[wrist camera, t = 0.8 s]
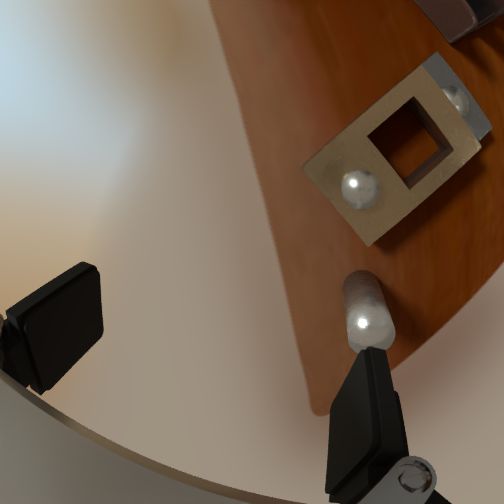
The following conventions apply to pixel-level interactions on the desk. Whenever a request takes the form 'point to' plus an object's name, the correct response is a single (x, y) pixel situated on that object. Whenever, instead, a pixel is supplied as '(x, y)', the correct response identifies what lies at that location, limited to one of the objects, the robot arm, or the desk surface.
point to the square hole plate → (376, 166)
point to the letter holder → (460, 15)
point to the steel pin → (366, 312)
